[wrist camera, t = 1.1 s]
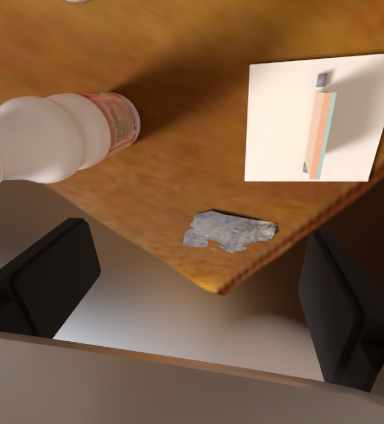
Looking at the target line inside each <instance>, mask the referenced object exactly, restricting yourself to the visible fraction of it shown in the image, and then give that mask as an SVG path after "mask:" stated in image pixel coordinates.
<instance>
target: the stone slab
mask: <svg viewBox="0 0 384 424" xmlns="http://www.w3.org/2000/svg"><path fill="white" fill-rule="evenodd" d="M190 225H191V226H192V228H193V229H192V230H187V231H185V235H184V240H183V245H188V246H196V247H206V246H207V244H208V242H207V240H206V239H210V240H212V241H217V242H218V243H220V244H222V245H223V246H219V247H221V248H222V249H224V250H225V251H228V252H230V253H234V252H235V251H242V250H244V249H247V248H245V247H242V245H245V244H253V243H255V242H258V241H267V240H268V239H266V238H273V236H274V235H275V232H276V228H277V225H278V224H276V223H275V224H274V223H271V222H267V221H259V220H253V219H246V218H240V217H235V216H229V215H225V214H221V213H217V212H214V211H207V212H203V213H197V214H196V215H195V217H194V221H193V222H192V223H191V224H190ZM211 249H212V250H216V249H213V248H211ZM259 255H262V254H259Z"/></svg>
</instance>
